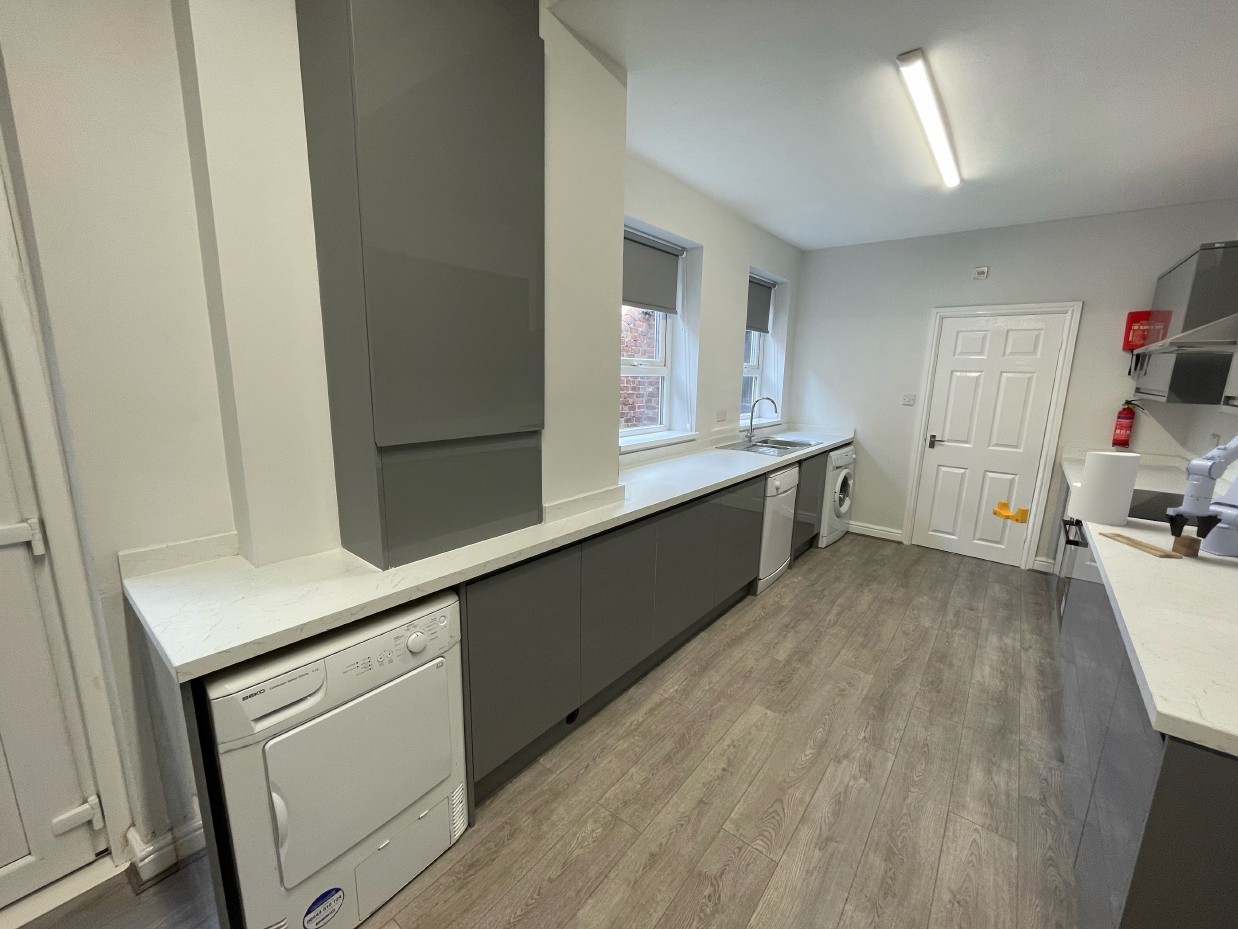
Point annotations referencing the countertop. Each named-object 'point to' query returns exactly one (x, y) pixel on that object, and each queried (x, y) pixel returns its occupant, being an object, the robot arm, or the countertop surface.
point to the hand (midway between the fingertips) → (1188, 537)
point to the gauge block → (1186, 545)
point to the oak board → (1142, 545)
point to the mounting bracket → (1006, 514)
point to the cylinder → (1105, 488)
